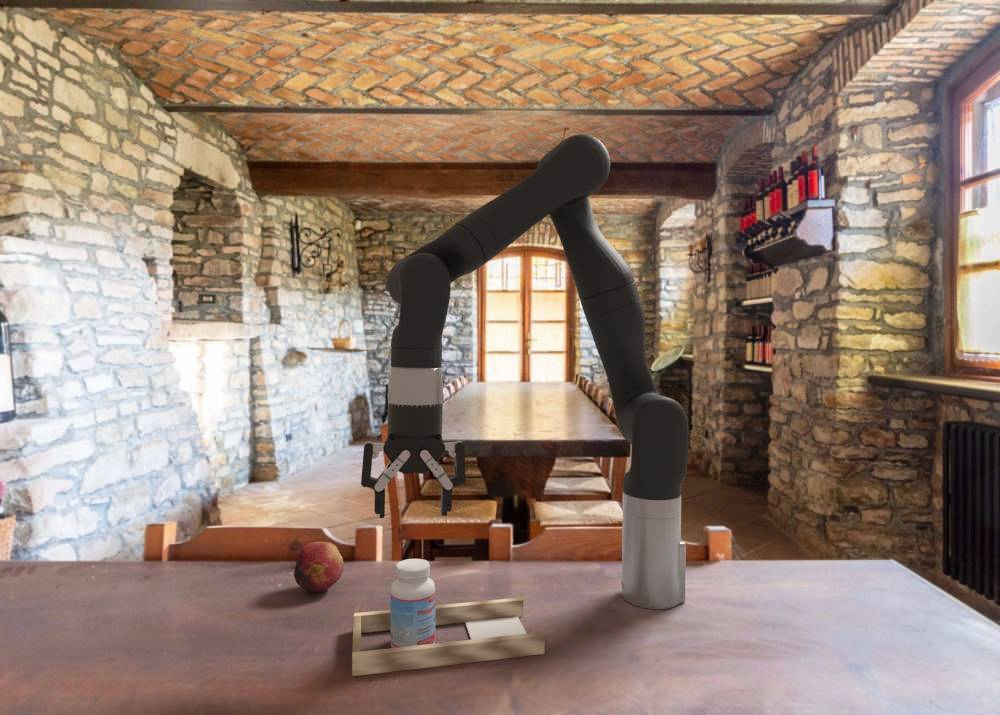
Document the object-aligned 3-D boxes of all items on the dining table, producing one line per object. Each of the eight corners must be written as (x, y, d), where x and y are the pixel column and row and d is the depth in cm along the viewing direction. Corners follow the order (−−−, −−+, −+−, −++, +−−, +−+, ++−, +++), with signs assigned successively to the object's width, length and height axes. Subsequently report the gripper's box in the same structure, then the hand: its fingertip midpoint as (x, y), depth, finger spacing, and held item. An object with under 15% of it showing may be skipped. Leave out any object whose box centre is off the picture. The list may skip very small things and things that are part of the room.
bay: (521, 613, 91) (521, 597, 91) (544, 653, 79) (544, 635, 79) (354, 630, 86) (354, 613, 86) (352, 676, 74) (352, 656, 74)
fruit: (349, 593, 98) (349, 545, 98) (302, 605, 94) (302, 555, 93) (334, 578, 104) (333, 533, 104) (289, 588, 100) (288, 541, 100)
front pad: (517, 618, 89) (517, 616, 89) (534, 648, 81) (534, 646, 81) (465, 623, 88) (465, 621, 88) (476, 655, 79) (476, 653, 79)
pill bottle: (427, 659, 78) (427, 574, 78) (383, 654, 79) (383, 571, 79) (440, 636, 84) (441, 558, 84) (400, 632, 85) (400, 554, 85)
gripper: (462, 397, 87) (460, 506, 88) (363, 397, 85) (361, 509, 85) (470, 403, 80) (467, 522, 80) (362, 402, 77) (359, 526, 78)
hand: (413, 515), depth 83 cm, fingers open, 8 cm apart
